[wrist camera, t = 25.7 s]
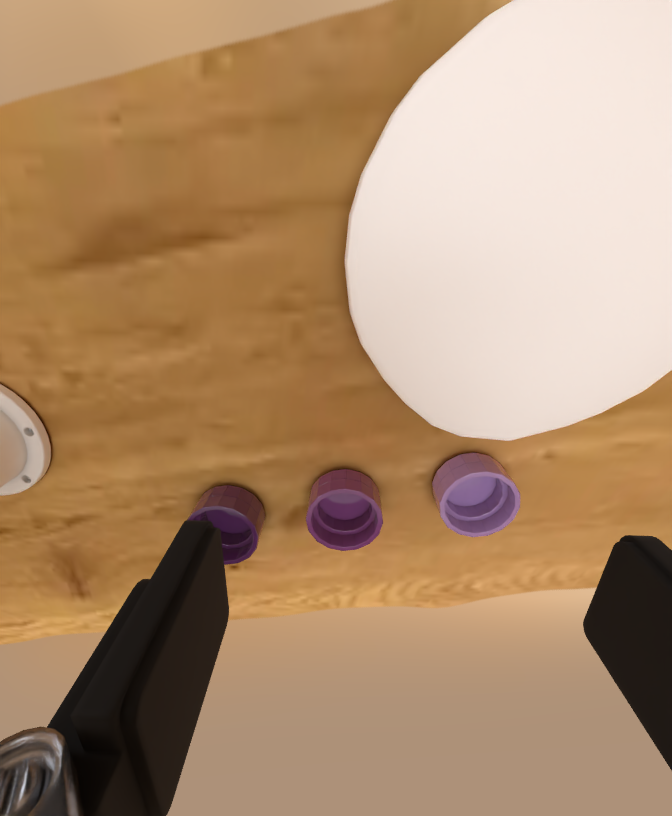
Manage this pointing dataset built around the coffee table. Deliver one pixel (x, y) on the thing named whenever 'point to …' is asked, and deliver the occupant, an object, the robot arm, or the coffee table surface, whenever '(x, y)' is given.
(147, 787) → the robot arm
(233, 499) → the aubergine dish
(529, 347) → the plate
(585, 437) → the coffee table surface
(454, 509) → the lilac dish
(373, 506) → the plum dish
